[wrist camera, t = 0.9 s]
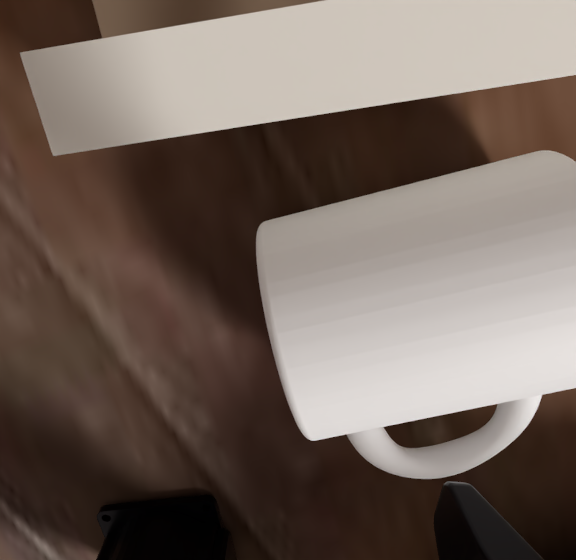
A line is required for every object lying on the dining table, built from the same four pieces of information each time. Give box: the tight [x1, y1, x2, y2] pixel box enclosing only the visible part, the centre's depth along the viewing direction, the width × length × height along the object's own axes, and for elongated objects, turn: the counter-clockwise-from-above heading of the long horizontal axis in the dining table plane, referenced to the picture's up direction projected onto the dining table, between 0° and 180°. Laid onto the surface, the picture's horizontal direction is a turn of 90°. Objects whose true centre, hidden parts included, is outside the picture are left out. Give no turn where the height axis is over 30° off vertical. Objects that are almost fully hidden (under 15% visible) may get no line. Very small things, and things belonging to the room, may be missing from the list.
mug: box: [256, 151, 576, 479], centre depth 17 cm, size 12×10×8 cm
